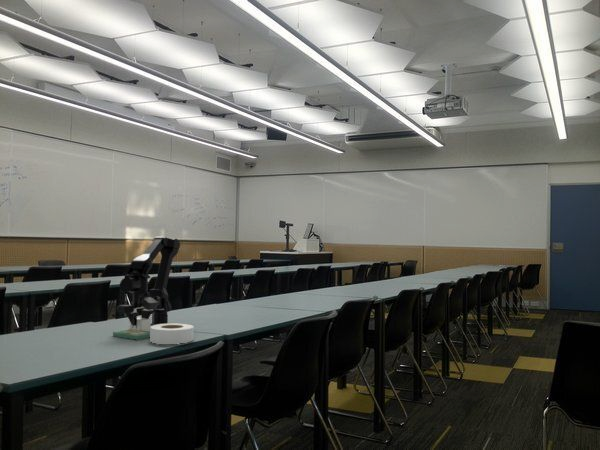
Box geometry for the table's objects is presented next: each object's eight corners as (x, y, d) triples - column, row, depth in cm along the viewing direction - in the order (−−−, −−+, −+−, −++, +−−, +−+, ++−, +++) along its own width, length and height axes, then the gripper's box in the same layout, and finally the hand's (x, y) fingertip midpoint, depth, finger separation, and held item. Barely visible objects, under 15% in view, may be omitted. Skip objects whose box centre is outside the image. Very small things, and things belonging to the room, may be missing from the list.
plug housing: (128, 330, 216) (128, 318, 216) (137, 329, 220) (137, 317, 220) (141, 332, 212) (141, 320, 212) (150, 331, 216) (150, 319, 216)
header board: (113, 336, 204) (113, 325, 204) (132, 332, 212) (132, 322, 212) (137, 340, 196) (137, 329, 197) (155, 336, 204) (156, 325, 204)
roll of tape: (194, 337, 205) (194, 322, 206) (192, 345, 190) (193, 329, 190) (152, 337, 203) (152, 323, 203) (147, 346, 187) (147, 330, 187)
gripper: (134, 293, 204) (133, 333, 204) (171, 289, 220) (170, 327, 219) (116, 291, 210) (115, 330, 210) (153, 288, 226) (152, 324, 225)
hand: (139, 328), depth 216 cm, fingers closed on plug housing, 4 cm apart
